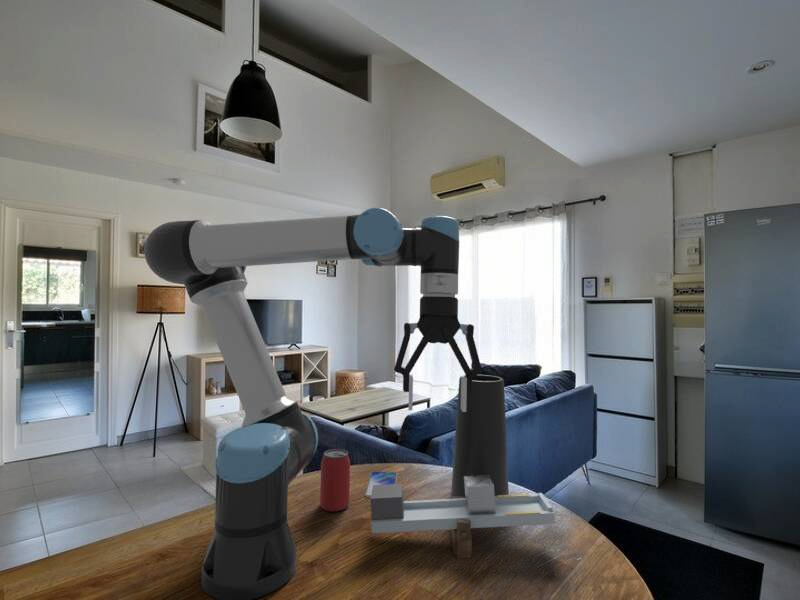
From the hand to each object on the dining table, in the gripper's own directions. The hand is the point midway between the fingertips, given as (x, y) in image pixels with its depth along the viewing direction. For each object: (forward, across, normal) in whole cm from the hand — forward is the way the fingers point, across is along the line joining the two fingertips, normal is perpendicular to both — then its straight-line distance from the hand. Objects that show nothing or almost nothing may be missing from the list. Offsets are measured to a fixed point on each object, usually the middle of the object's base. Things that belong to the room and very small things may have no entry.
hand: (436, 409), depth 81 cm
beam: (+21, +5, 0) cm, 22 cm away
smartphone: (+26, -12, +25) cm, 38 cm away
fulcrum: (+26, +5, 0) cm, 26 cm away
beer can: (+26, -22, +13) cm, 36 cm away
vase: (+26, +12, +19) cm, 34 cm away
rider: (+20, +9, 0) cm, 22 cm away
